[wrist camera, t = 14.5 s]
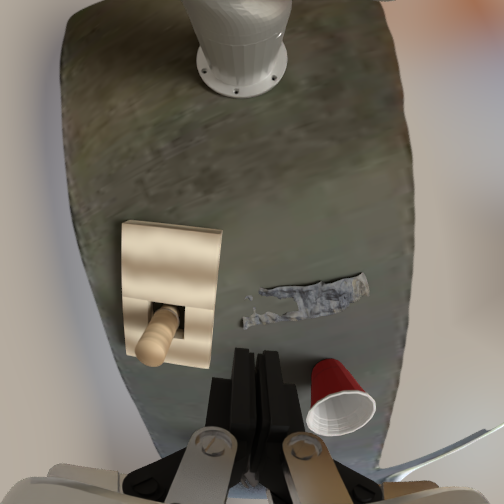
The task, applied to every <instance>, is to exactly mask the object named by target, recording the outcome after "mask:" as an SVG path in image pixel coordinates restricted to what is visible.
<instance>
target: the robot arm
mask: <svg viewBox="0 0 504 504" xmlns="http://www.w3.org/2000/svg"><path fill="white" fill-rule="evenodd" d="M181 1H182V3H183V5H184V6H185V9H186V11H187V13H188V16H189V18H190V21H191V23H192V26H193V28H194V31H195V33H196V36H197V38H198V41H199V43H200V46H199V49H198V52H197V59H196V63H197V69H198V71H199V74H200V76H201V78H202V80H203V81H204V82H205V83H206V85H207V86H208V87H210V88H211V89H212V90H213V91H215V92H217V93H219V94H221V95H224V96H227V97H231V98H238V99H239V98H251V97H256V96H259V95H261V94H264V93H266V92H267V91H269V90H271V89H272V88H273V87H274V86H275V85H277V83H278V82H279V81H280V80H281V78H282V76H283V74H284V72H285V69H286V67H287V51H286V48H285V45H284V44H283V42H282V39H283V35H284V32H285V28H286V25H287V21H288V18H289V15H290V12H291V6H292V0H181ZM373 1H394V0H373ZM205 71H206V72H207V73H206V74H204V72H205ZM272 78H274V79H275V81H273V80H272ZM236 91H237V92H238V94H235V92H236ZM248 459H249V471H250V473H255V480H259V483H261V484H262V485H263V486H265V487H266V495H267V498H268V502H269V504H490V503H489V502H488V500H487V499H486V498H485V497H484V495H483V494H482V493H480V492H479V491H478V490H476V489H473V488H469V487H455V486H454V487H440V488H439V486H438V485H437V484H436V483H434V482H432V481H409V482H383V483H382V484H377V483H375V482H374V481H372V480H371V479H369V478H367V477H365V476H363V475H361V474H359V473H357V472H355V471H353V470H352V469H350V468H348V467H346V466H344V465H343V464H341V463H339V462H337V461H335V460H334V459H332V457H331V455H330V453H329V450H328V448H327V446H326V444H325V443H324V441H323V440H322V439H321V438H320V437H319V436H317V435H315V434H313V433H309V432H305V428H304V423H303V418H302V414H301V409H300V404H299V399H298V394H297V390H296V386H295V384H283V380H282V374H281V368H280V361H279V355H278V352H277V351H266V350H264V351H263V354H259V353H258V355H257V361H256V367H255V364H254V353H249V349H244V348H235V352H234V360H233V368H232V376H231V379H223V378H215V377H212V383H211V390H210V396H209V403H208V410H207V417H206V424H205V427H204V428H201V429H199V430H197V431H196V432H194V434H193V435H192V437H191V438H190V441H189V443H188V446H187V447H185V448H183V449H181V450H179V451H177V452H175V453H173V454H171V455H169V456H167V457H165V458H162V459H160V460H158V461H156V462H154V463H151V464H149V465H147V466H144V467H142V468H140V469H137V470H135V471H133V472H131V473H129V474H119V473H118V471H112V470H103V469H96V468H88V467H82V466H76V465H70V464H57V465H54V466H53V467H52V468H51V469H50V470H49V472H48V475H47V477H30V478H26V479H23V480H21V481H19V482H18V483H16V484H15V485H14V486H13V487H12V488H11V489H10V491H9V492H8V493H7V495H6V496H5V498H4V499H3V501H2V502H1V504H226V501H227V497H228V493H229V489H230V488H231V487H233V486H234V485H236V484H237V483H239V482H240V481H241V477H242V473H243V472H245V471H246V468H247V464H248Z"/></svg>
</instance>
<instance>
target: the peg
mask: <svg viewBox="0 0 504 504" xmlns="http://www.w3.org/2000/svg"><path fill="white" fill-rule="evenodd" d="M179 316H180V309H179V308H178V306H177V305H173V304H166V303H165V304H163V305H162V307H161V309H158V310H157V311H155V313H154V314H153V317H152V319H151V321H150V322H149V324H148V326H147V327H146V329H145V331H144V332H143V334H142V336H141V338H140V339H139V341H138V343H137V345H136V346H135V354H136V357H137V358H138V359H139V361H141V362H142V363H143V364H145V365H147V366H152V367H156V366H159V365H161V364H162V363H163V362H164V360H165V357H166V355H167V352H168V350H169V347H170V345H171V342H172V340H173V337H174V335H175V332H176V330H177V328H178V326H179Z"/></svg>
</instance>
